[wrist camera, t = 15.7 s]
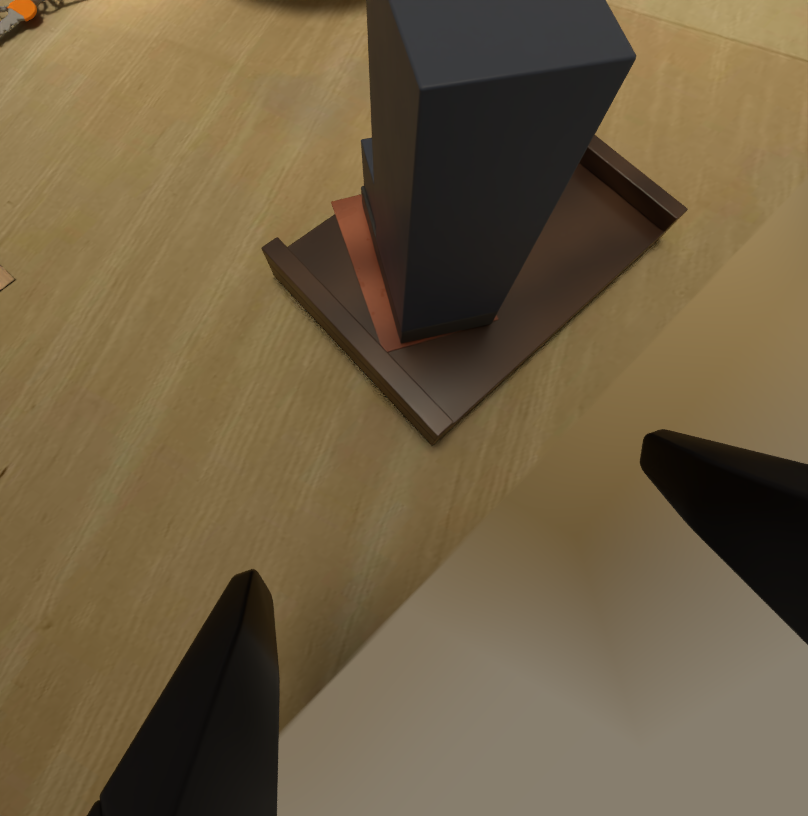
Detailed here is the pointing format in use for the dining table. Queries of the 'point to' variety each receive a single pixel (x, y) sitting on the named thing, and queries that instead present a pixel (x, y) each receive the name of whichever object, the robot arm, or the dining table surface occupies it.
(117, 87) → the dining table surface
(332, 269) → the brown serving tray
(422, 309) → the charcoal gray box
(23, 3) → the key chain
